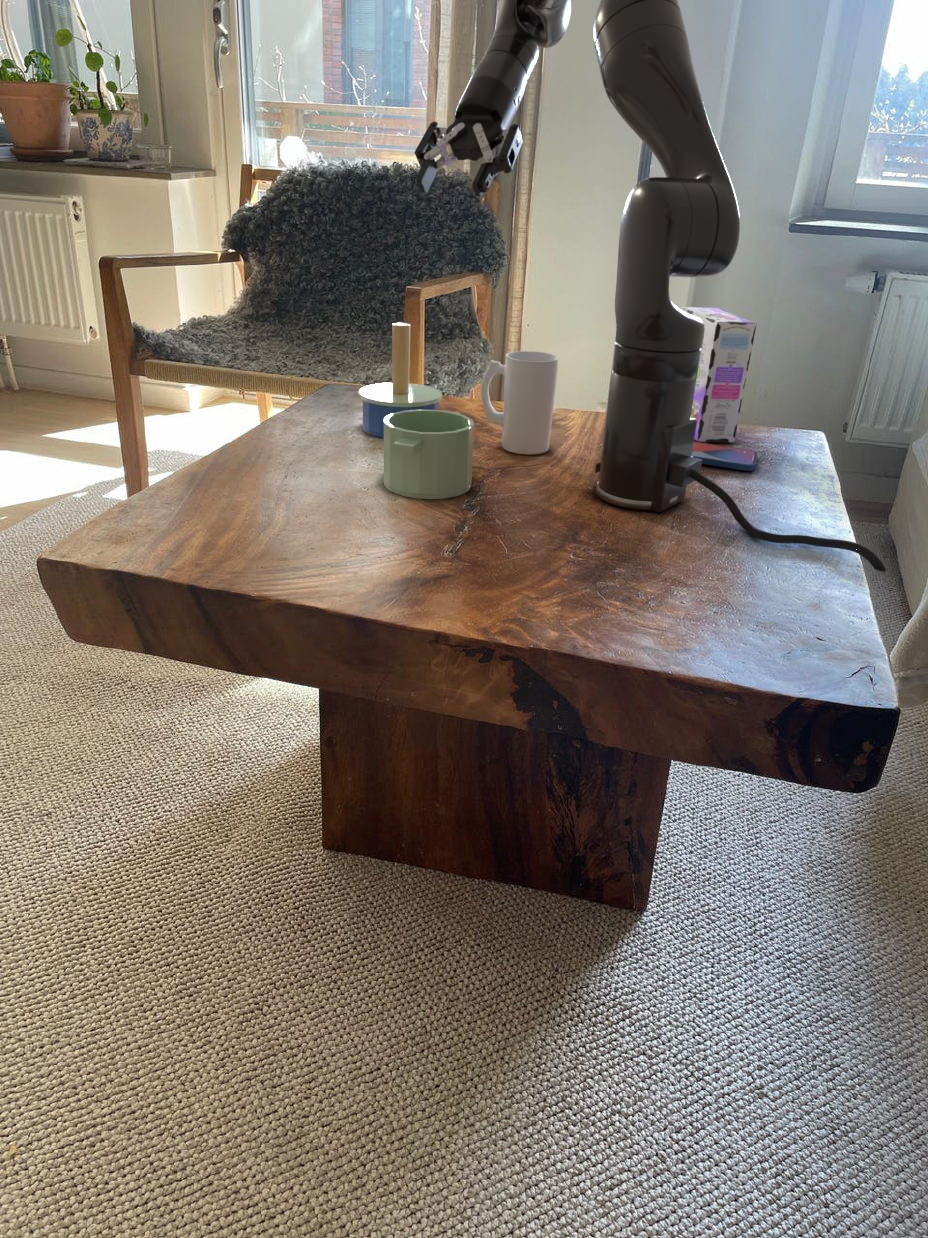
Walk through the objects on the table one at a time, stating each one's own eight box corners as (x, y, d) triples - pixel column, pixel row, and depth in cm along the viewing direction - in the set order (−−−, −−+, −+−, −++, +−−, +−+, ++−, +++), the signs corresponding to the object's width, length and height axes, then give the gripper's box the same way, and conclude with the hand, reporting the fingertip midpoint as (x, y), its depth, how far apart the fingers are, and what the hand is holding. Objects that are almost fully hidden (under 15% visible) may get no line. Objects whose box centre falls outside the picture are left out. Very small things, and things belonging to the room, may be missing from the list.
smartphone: (753, 473, 113) (755, 465, 113) (636, 455, 117) (637, 447, 116) (755, 458, 119) (757, 450, 119) (644, 441, 123) (645, 433, 123)
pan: (452, 429, 125) (453, 397, 123) (402, 444, 118) (403, 410, 116) (398, 415, 131) (398, 384, 129) (347, 428, 123) (346, 395, 121)
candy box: (736, 443, 125) (759, 322, 117) (696, 443, 124) (717, 321, 116) (700, 417, 137) (718, 305, 129) (663, 417, 136) (680, 304, 128)
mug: (556, 445, 120) (565, 354, 115) (542, 458, 115) (550, 363, 109) (487, 434, 123) (491, 346, 118) (469, 447, 118) (474, 354, 112)
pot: (488, 471, 109) (492, 410, 106) (445, 512, 96) (448, 444, 93) (411, 459, 112) (412, 400, 108) (359, 498, 99) (358, 432, 95)
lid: (458, 403, 123) (461, 326, 118) (397, 416, 115) (398, 335, 111) (402, 387, 130) (403, 314, 125) (342, 398, 122) (340, 321, 117)
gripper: (439, 73, 123) (393, 164, 119) (532, 73, 117) (487, 169, 113) (456, 119, 129) (413, 207, 126) (545, 121, 124) (503, 214, 120)
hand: (448, 189), depth 119 cm, fingers open, 8 cm apart
